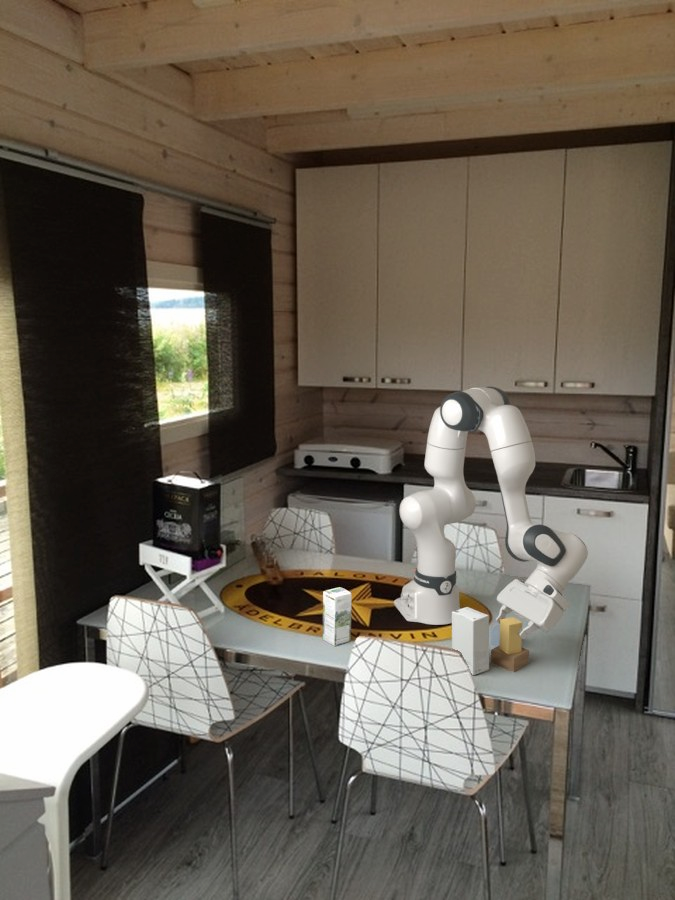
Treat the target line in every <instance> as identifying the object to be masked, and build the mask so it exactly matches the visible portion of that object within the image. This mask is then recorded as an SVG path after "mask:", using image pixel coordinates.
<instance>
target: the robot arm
mask: <svg viewBox="0 0 675 900" xmlns="http://www.w3.org/2000/svg"><path fill="white" fill-rule="evenodd" d="M478 430H479V431H481V432H482V433H483V434H485V436H486V439H487V443H488V447H489V450H490V455H491V459H492V461H493V465H494V470H495V473H496V476H497V481H498V484H499V489H500V490H499V491H500V495H501V500H502V506H503V510H504V515H505V519H506V531H505V532H506V533H505V541H504V543H505V544H504V545H505V548H506V551H507V553H508V554H509V556H510V557H512V559H514V560H516V561H518V562H533V563H535V564H536V567H535V568H534V570H533V571H532V573H531V574H530V575H529V576H528V577H527V579H525V578H523V577H519V578H515V579H514V580H512V581H511V582H509V583H508V584H507V585H506V586H505V587H504V588H503V589H502V590H501V591H500V592H499V593H498V594H497V597H496V601H497V602H498V603H499V604H500V606H501V607H500V609H499V613H498V616H497V617H496V618H495V622H497V624H498V625H499V624H500V619H505V618H507V617H506V616H507V615H509V613H510V612H512V613H513V614H514V615H516V616H518V617H519V618H521V619H523V620H524V621H526V622H528V623H527V626H526V627H524V628H522V629H520V630H519V632H518V633H517V635H518V636H519V637H521V638H522V640H525V639H526V638H527V636H528V635H530V634H533V633H534V632H536V631H537V630H538V629H539V630H542V631H543V632H545V633H548V632H550V631H552V630H553V629H554V628H555V627H556V625H557V624H558V623H559V621H561V619H562V617H563V616H564V612H566V611H567V610H569V608H570V603H568V601H567V600H566V599H565V598H564V596H563V594H562V592H564V590H565V589H566V586H567V584H568V583H569V582H570V581H572V579H574V578H575V577H576V575H577V574H578V573H579V571H581V568H582V567H583V566H584V564H585V562H586V560H587V558H588V555H589V551H588V547H587V545H586V544H585V543H584V541H583V540H582V539H581V538H580V537H579V536H577V535H576V534H574V533H572V532H562V531H558V530H555V529H552V528H551V527H549V526H547V525H545V524H540V523H538V524H537V523H533V522H532V520H531V517H530V513H529V508H528V502H527V498H526V485H527V482H528V481H529V478H530V476H531V475H532V474H533V472H534V470H535V467H536V454H535V448H534V444H533V441H532V437H531V434H530V430H529V428H528V425H527V423H526V421H525V418H524V416H523V414H522V412H521V411H520V409H519V408H518V407H517V406H515V405H511V402H510V399H509V396H508V394H507V393H506V392H505V391H504V390H503V389H500V388H499V387H494V386H485V387H483V386H481V387H480V386H479V387H472V388H469V389H463V390H461V391H454V392H452V393H450V394H448V395H447V396H445V397H444V398H443V400H442V401H441V404H440V406H439V407H437V408H436V409H435V410H434V412H433V415H432V418H431V421H430V425H429V429H428V434H427V439H426V448H425V457H424V469H425V470H426V472H427V473H428V474H429V475H430V476H431V477H433V481H434V482H433V483H434V485H433V488H431V489H426V490H422V491H421V490H420V491H416V492H413V493H411V494H409V495H408V496H406V497H404V498H403V499H402V500H401V502H400V504H399V516H400V517H399V518H400V520H401V522H402V523H403V524H404V526H405V527H406V528H408V529H409V530H410V531H411V532H412V534H413V536H414V539H415V541H416V546H417V547H416V549H417V567H414V568H413V572H414V575H413V579H411V580H410V581H409V582H407V583H406V584H404V586H403V587H402V590H401V593H400V597H398V598H396V599H395V600H394V601H393V605H394V606H395V608H396V609H397V610H398V611H399V612H400V614H401V615H402V616H403V618H404V619H405V620H406V621H407V622H413V623H421V624H425V625H431V626H432V625H435V626H437V625H438V626H439V625H443V626H444V625H448V624H449V625H450V624H452V612H453V611H456V610H459V609H462V607H461V606H460V593H459V591H460V590H459V587H458V585H457V578H458V577H457V571H456V552H457V551H456V550H457V549H456V546H455V544H454V542H452V541H451V540H450V539H449V538H447V537H446V534H445V529H444V528H445V525H446V526H447V525H451V524H455V523H459V522H461V521H464V520H465V519H467V518H469V517H471V516H472V515H473V514H474V512H475V510H476V505H477V504H476V498H475V495H474V493H473V492H472V490H471V489H470V488H468V486H467V484H466V482H465V476H464V467H465V466H464V464H465V457H466V455H465V454H466V449H467V439H468V435H469V434H468V433H475V432H477V431H478Z"/></svg>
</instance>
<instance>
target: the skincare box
mask: <svg viewBox="0 0 675 900" xmlns="http://www.w3.org/2000/svg"><path fill="white" fill-rule="evenodd" d="M461 608H462V607H461ZM452 648H453V649H455V650H458V651H460V652H461V653H462V655H463V657H464V659H465V660H466V662H467V664H468V666H469V669H470V671H471V673H472V674H471V675H472V676H476V675H478V674H483V673H484V672H487V671H489V670H490V614H488V613H487V614H486V613H483V612H480V611H479V610H476V609H474V608H471V607H469V606H466V607H463V608H462V609H459V610H456V611H453V612H452V623H451V649H452Z"/></svg>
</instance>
